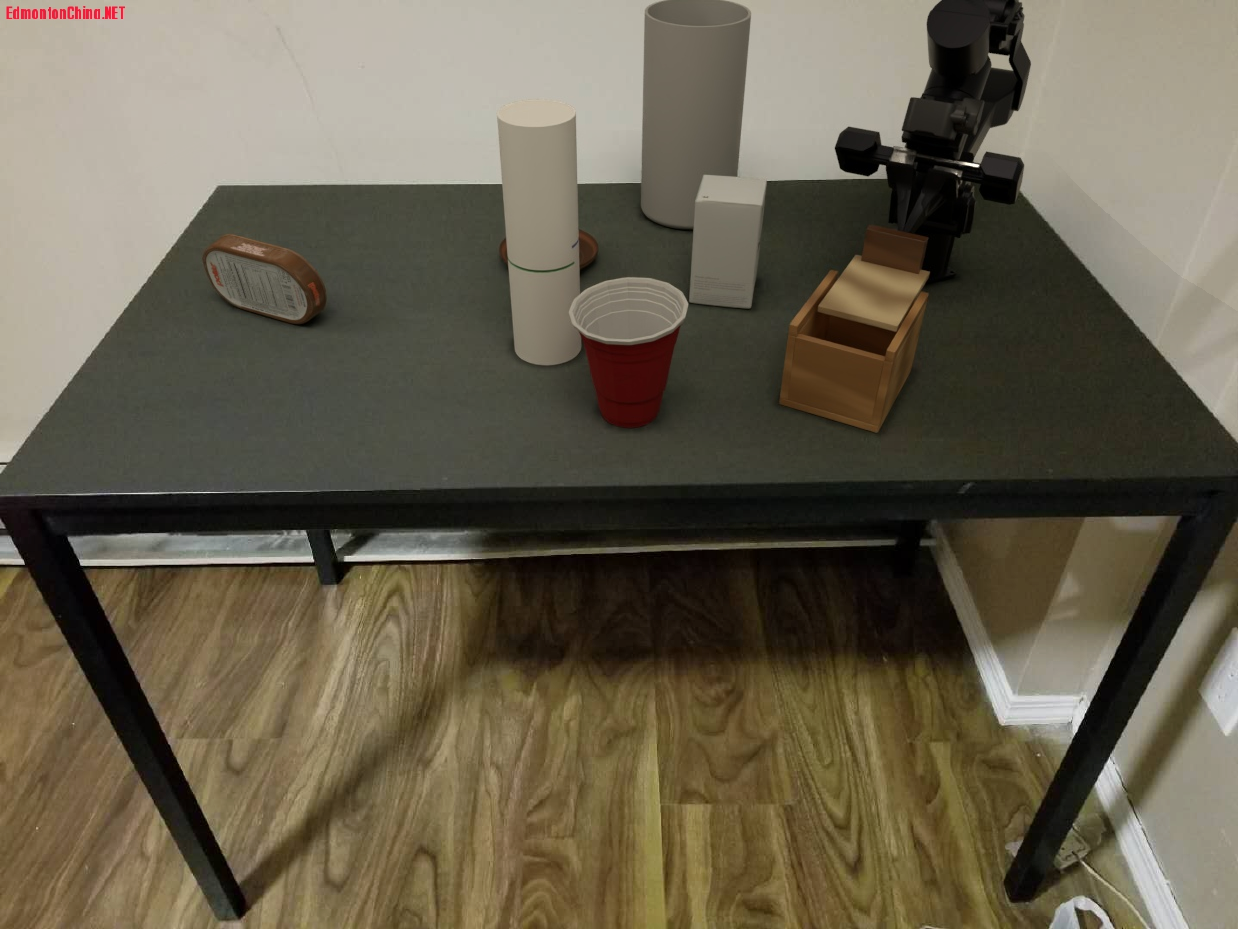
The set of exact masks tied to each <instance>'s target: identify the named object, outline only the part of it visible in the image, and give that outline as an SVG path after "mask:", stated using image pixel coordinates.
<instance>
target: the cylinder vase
mask: <svg viewBox="0 0 1238 929" xmlns="http://www.w3.org/2000/svg"><path fill="white" fill-rule="evenodd" d="M643 19H644V20H643V21H644V22H643V28H644V29H643V73H642V74H643V76H642V119H641V120H642V127H641V128H642V130H641V173H640V174H641V175H640V176H641V177H640V208H641V211H642V213H643V214H644V215H645V216H646V217H647V219H649V220H651V221H652V222H654V223H656V224H658V225H661V226H663V227H667V228H672V229H676V230H678V229H679V230H694V214H695V200H696V197H697V194H698V191H699V187H700V185H701V181H702V178H703V175H717V176H732V177H738V175H739V174H738V172H739V162H740V159H739V158H740V152H741V140H742V139H741V138H742V126H743V114H744V103H745V91H746V80H747V79H746V78H747V68H748V57H749V56H748V54H749V44H750V33H751V22H752V21H751V20H752V11H751V10H750V9H749V8H748V7H747V6H745V5H743V4H741V3H738V2H734V1H730V0H659V1H655V2H653V3H651V4H649V5H648V6H646V7H645V8H644V18H643Z"/></svg>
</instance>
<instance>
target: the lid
mask: <svg viewBox="0 0 1238 929" xmlns="http://www.w3.org/2000/svg"><path fill="white" fill-rule="evenodd" d="M927 242H928V237H925V236H920V235H916V234H911V233H907V232H902V231H897V229H892V228H888V227H883V226H879V225H874V224H869V225H868V227H867V228H866V231H865V236H864V243H863V247H862V254H861V255H859V254H855V255H854V257H853V258H852V259H851V261H850V262H849V263H848V265H847V266H846V268H844V270H843V271H842V273H841V274H840V275H839V277H837V281H836V282H835V284H834V285H833V287H832V288H831V289H830V291H829V292H828V293H827V295H826V296H825V297H824V299H823V300H822V301H821V303H820V304H819V305H818V310H817V312H820V313H824V314H828V315H832V316H836V317H840V318H844V319H848V320H851V321H855V322H859V323H863V324H867V325H871V326H875V327H879V328H883V329H887V330H891V331H894V332H897V330H898V329H899V327H900V325H901V324H902V322H903V320H904V318H905V317H906V315H907V313H908V312H909V310H910V308H911V307H912V305H913V303H914V302H915V301H916V299H917V298H918V296H919V294H920V293H921V292H922V290H923V288H924V287H925V285H926V284H925V283H926V281H927V280H928V278H929V274H930V272H929V271H925V270H921V269H922V264H923V260H924V255H925V251H926V246H927Z"/></svg>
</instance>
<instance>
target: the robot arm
mask: <svg viewBox="0 0 1238 929" xmlns="http://www.w3.org/2000/svg"><path fill="white" fill-rule="evenodd" d="M1023 11H1024V6H1023V2H1022V1H1020V0H940V1H938V2H937V3H936V4H935V5H934V6H933V7H932V8H931V10H930V11H929V13H928V15H927V19H926V36H927V39H926V40H927V53H928V54H927V55H928V64H929V67H930V72H929V75H928V79H927V81H926V84H925V87H924V89H923V93H922V94H921V96H920V97H917V96H916V97H914V96H913V97H912V96H911V97H910V98H909V100H908V105H907V108H906V112H905V116H904V119H903V122H902V126H901V131H902V133H901V134H902V135H901V143H903V144H904V147H901V146H897V145H894V146H887V145H883V144H882V138H881V133H880V131H877V130H871V129H864V128H860V127H854V126H850V125H849V126H847V127H846V128H844V129H843V130H842V131H841V132H840V133H839V134H838V137H837V140H836V143H835V146H834V152H835V155H836V159H837V162H838V166H839V170H841V171H843V172H845V173H848V174H854V175H857V176H858V175H859V176H864V177H870V176H872V175H873V174H876V173H877V172H878V171H879V169H880V165H881V166H885V173H886V174H885V175H886V180H887V185H888V187H889V188H890V189H891V193H890V202H889V212H888V221H887V222H888V224H896V230H897V231H902V232H907V233H911V234H916V235H920V236H925V237H928V242H927V246H926V251H925V255H924V260H923V264H922V269H921V270H925V271H929V272H930V274H929V278H928V280H927V281H926V283H925V285H927V284H931V283H932V284H933V283H936V282H940V281H945V280H947V279H952V278H955V277H956V276H957V272H956V271H955V270H954V269H953V268H951V267H950V266H949V263H950V259H951V256H952V253H953V252H952V251H953V247H954V244H955V239H956V238H957V239H961V237H962V236H963V235H967V234H970V233H971V232H972V228H973V224H974V220H975V215H976V207H977V199H976V197H975V186H974V185H972V184H978V185H979V188H978V192H979V194H980V195H981V197H982V199H983V200H984V201H987V202H988V201H989V202H994V203H998V204H1004V205H1009V206H1010V205H1015V204H1016V203H1017V199H1018V196H1019V194H1020V191H1021V187H1022V184H1023V178H1024V171H1025V164H1024V162H1023V159H1022V158H1021V157H1019V156H1014V155H1009V154H1002V153H997V152H992V151H985V153H984V154H983V156H982V159H981V161H980V162H981V163H980V162H975V157H976V156H977V154H978V152H979V150H980V148H981V146H982V144H983V142H984V140H985V138H986V137H987V134H988V132H989V131H990V130H991V129H993V128H997V127H1001V126H1005V125H1006V124H1008V123H1009V121H1010V119H1011V118H1012V116H1013V114H1014V112H1019V111H1020V109H1021V106H1022V104H1023V101H1024V97H1025V93H1026V91H1027V86H1028V80H1029V76H1030V73H1031V72H1030V71H1031V66H1032V61H1031V59H1030V56H1029V55H1028V53H1027V51H1026V48H1025V46H1024V44H1023V42H1022V39H1023V32H1024V28H1025V23H1024V20H1025V14H1024V12H1023ZM989 54H992V55H999V56H1005V57H1008V63H1009V66H1010V67H1011V69H1006V68H998V67H992V61H991V58H990V56H989ZM971 183H972V184H971Z"/></svg>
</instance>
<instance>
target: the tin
mask: <svg viewBox="0 0 1238 929" xmlns="http://www.w3.org/2000/svg"><path fill="white" fill-rule="evenodd" d="M201 261H202V263H203V267H204V271H205V274H206V275H207V278H208V280H209V282H210V284H211V286H212V288H213V289H214V290H215V292H216V293H217V294H218V295H220V296H221V297H222V299H223V300H225V301H226V302H228V303H229V304H230V305H232V306H233V307H236V308H238V309H241V310H244V311H247V312H250V313H254V314H257V315H261V316H264V317H268V318H272V319H274V320H278V321H281V322H285V323H289V324H293V325H302V324H305V323H307V322H309V321H310V320H311V319H313V318H314V317H315V316H316V315H318V314H320V313H321V312H323V310H325V308H326V305H327V301H328V296H327V294H328V293H327V290H326V286H325V283H324V280H323V279H322V277H321V276H320V274H319V273H318V271H317V270H316V269H315V267H314V266H313V265H312V263H310V262H309V261H308V260H307V259H306V258H305V257H303V256H302V255H301V254H299V253H298V252H296V251H294V250H292V249H289V248H286V247H282V246H279V245H275V244H271V243H268V242H264V241H259V240H256V239H252V238H248V237H244V236H242V235H241V236H240V235H236V234H234V233H228V234H227V233H226V234H223V235H221V236H219V238H217V240H215V241H214V242H213V243H211V244H210V245H208V246H207V247H206V248H205V250H204V252H203V254H202V260H201Z"/></svg>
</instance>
